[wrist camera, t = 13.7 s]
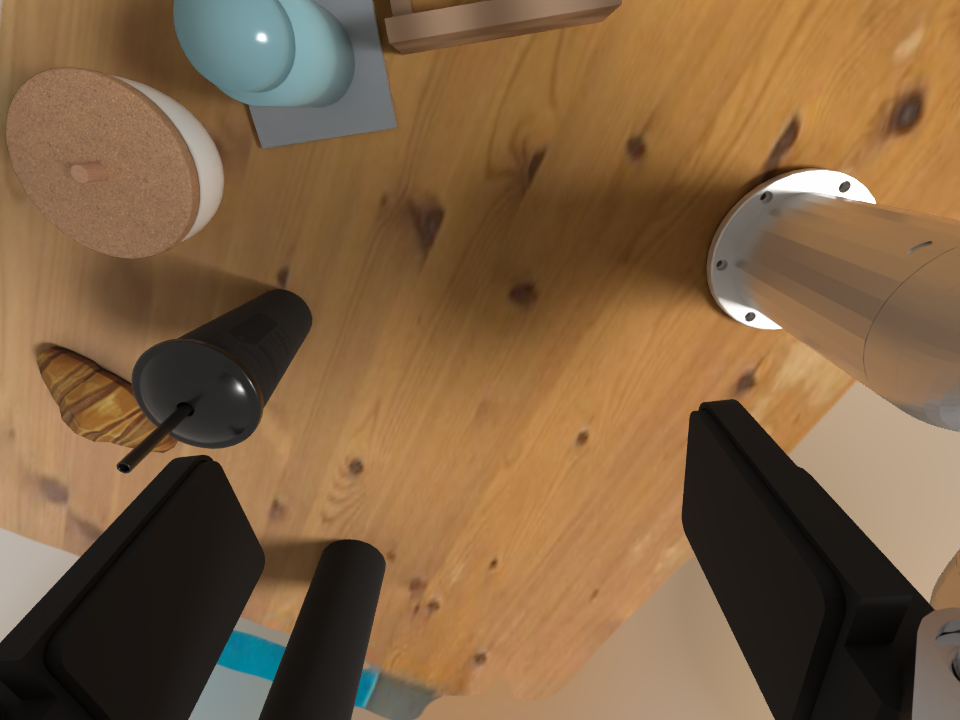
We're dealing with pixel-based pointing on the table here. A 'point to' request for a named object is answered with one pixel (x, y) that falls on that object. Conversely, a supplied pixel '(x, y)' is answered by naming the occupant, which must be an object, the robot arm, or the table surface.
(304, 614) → the wine bottle
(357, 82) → the coaster
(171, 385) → the drinking cup
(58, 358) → the croissant
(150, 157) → the lidded jar
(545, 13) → the cradle
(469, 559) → the table surface
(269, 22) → the jug
